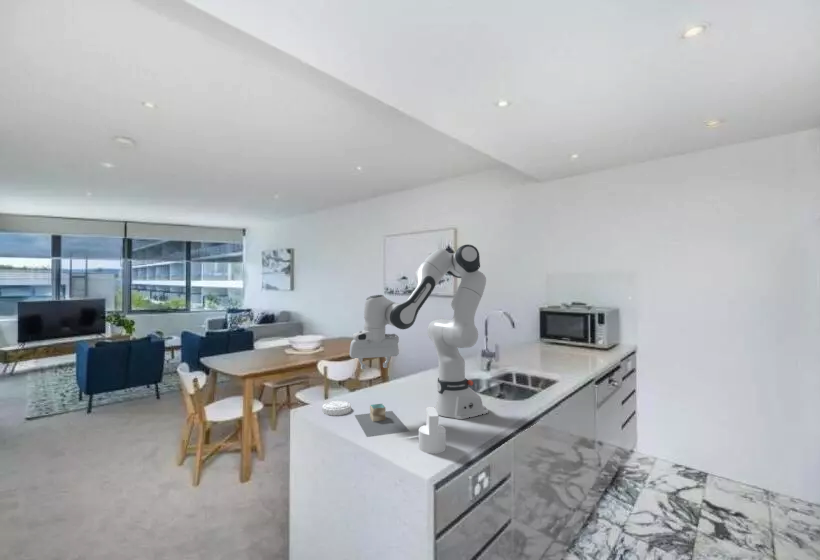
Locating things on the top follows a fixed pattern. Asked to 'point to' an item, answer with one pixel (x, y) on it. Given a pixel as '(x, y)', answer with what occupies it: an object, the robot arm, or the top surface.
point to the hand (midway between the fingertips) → (374, 368)
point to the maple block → (377, 412)
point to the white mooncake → (336, 408)
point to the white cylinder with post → (432, 433)
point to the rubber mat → (381, 424)
